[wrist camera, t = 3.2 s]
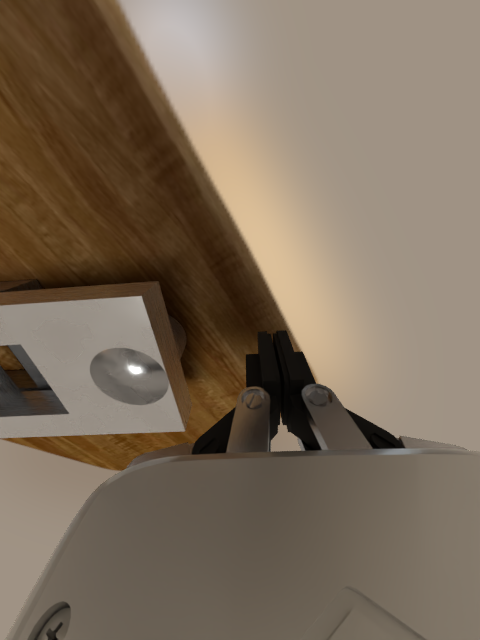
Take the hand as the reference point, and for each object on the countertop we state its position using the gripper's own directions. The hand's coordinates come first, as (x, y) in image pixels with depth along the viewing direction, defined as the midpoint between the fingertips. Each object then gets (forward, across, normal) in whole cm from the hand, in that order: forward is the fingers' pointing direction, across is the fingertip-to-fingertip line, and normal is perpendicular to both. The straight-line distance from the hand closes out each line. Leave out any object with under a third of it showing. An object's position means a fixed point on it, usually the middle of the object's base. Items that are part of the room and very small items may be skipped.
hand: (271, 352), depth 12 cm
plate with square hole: (+2, +12, 0) cm, 13 cm away
